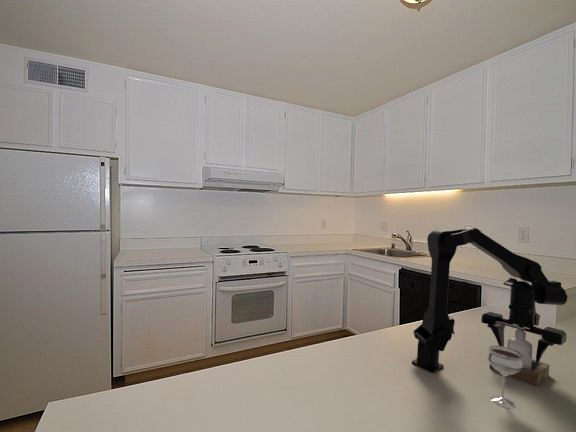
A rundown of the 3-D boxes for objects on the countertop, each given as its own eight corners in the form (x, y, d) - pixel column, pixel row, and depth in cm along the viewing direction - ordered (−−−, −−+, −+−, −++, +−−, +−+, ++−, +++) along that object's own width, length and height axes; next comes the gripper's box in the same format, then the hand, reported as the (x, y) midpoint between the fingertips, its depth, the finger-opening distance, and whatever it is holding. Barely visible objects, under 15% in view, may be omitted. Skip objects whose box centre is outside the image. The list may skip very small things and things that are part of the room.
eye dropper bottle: (527, 374, 82) (529, 331, 82) (503, 365, 87) (506, 324, 87) (533, 370, 84) (535, 329, 84) (510, 361, 89) (512, 322, 89)
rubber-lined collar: (537, 386, 78) (537, 375, 78) (489, 367, 87) (490, 357, 87) (548, 375, 84) (549, 364, 84) (503, 359, 93) (504, 349, 93)
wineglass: (481, 399, 70) (484, 349, 70) (490, 389, 75) (492, 342, 75) (516, 414, 65) (519, 361, 65) (523, 403, 70) (526, 353, 70)
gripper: (572, 308, 83) (569, 363, 83) (496, 292, 98) (493, 338, 98) (562, 313, 76) (559, 373, 76) (482, 295, 91) (479, 345, 91)
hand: (519, 356), depth 85 cm, fingers closed on eye dropper bottle, 8 cm apart
